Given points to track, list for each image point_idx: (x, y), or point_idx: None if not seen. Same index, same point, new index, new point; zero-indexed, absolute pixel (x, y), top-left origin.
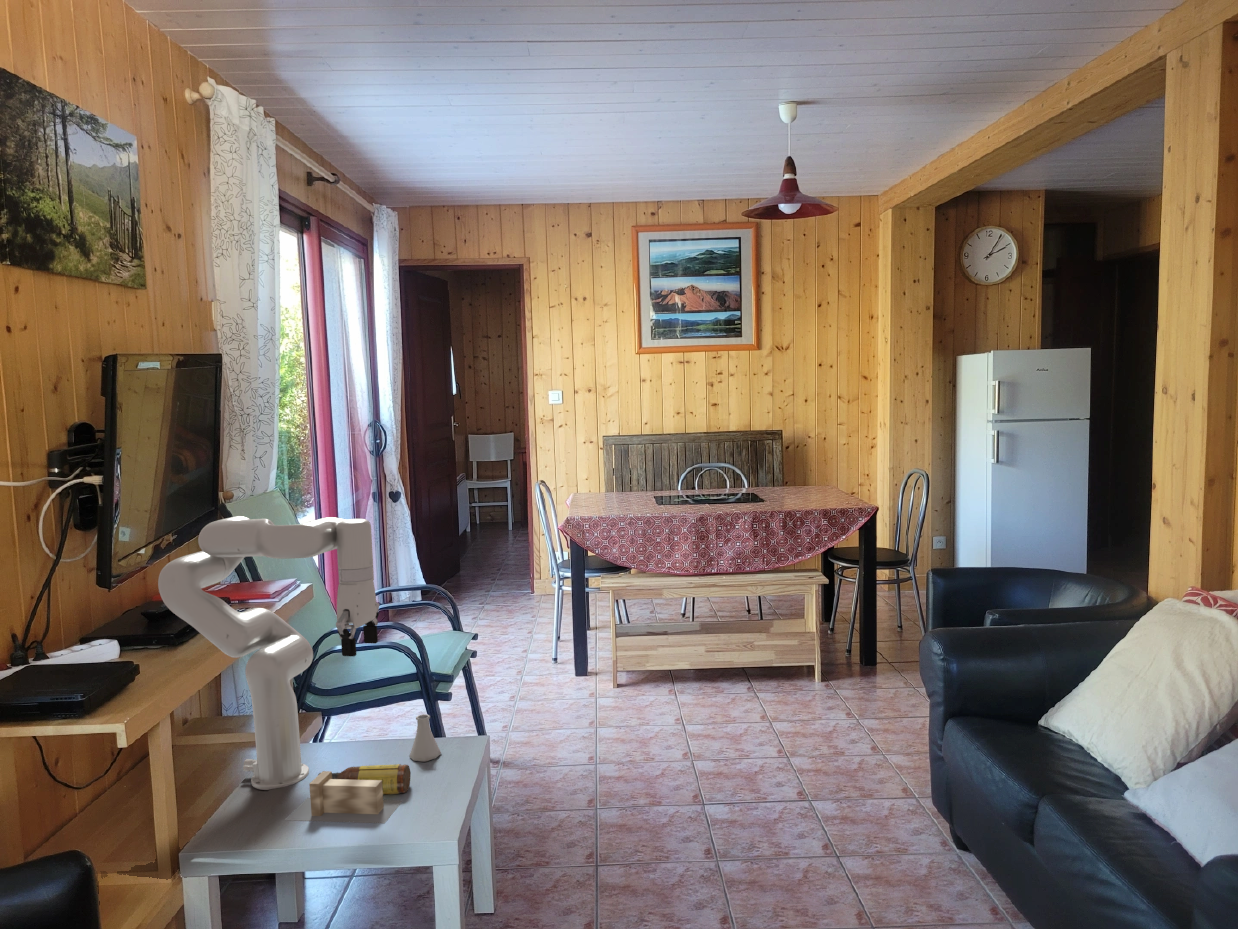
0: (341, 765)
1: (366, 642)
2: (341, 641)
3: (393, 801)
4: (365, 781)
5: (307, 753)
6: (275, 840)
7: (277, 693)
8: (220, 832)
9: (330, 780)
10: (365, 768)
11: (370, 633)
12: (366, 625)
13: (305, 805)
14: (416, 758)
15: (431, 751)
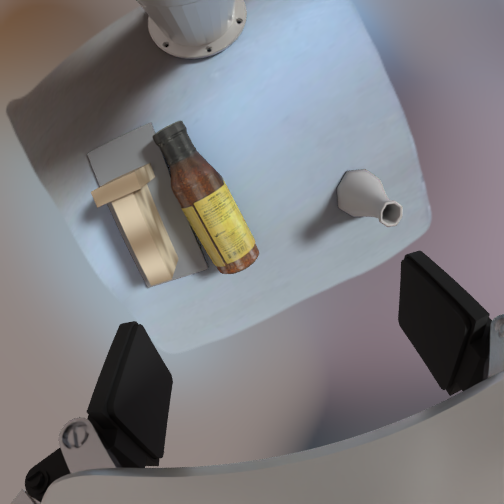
0: (282, 73)
1: (401, 273)
2: (95, 392)
3: (199, 259)
4: (155, 258)
5: None
6: (58, 183)
7: None
8: (42, 98)
9: (129, 199)
10: (200, 213)
11: (430, 337)
12: (471, 350)
13: (129, 142)
14: (339, 193)
15: (356, 215)
